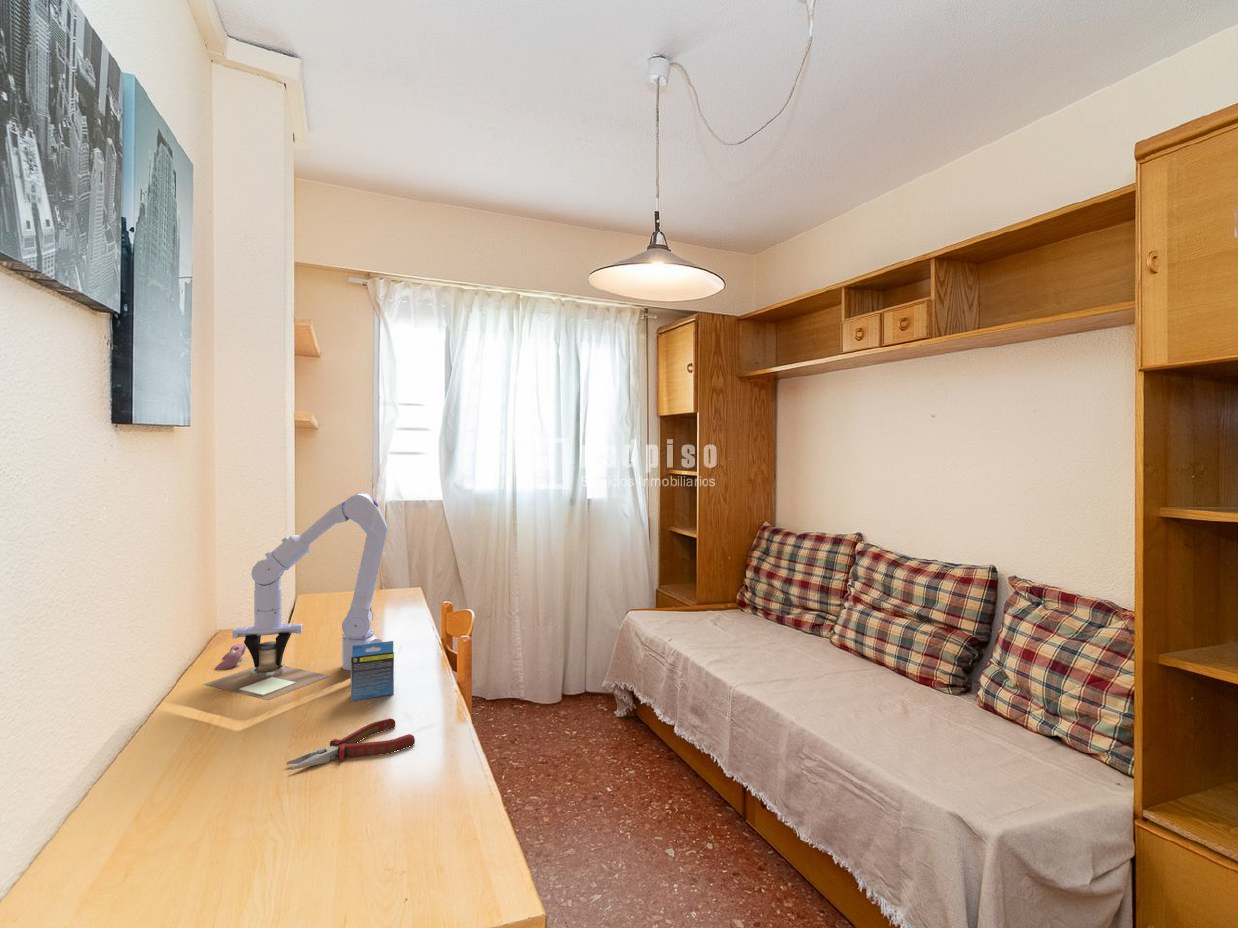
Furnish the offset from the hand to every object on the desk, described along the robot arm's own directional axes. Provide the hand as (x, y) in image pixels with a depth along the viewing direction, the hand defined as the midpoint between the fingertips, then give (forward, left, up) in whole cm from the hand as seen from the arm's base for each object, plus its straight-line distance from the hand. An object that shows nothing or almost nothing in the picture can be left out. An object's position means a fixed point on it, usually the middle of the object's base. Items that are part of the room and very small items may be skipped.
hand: (268, 665), depth 146 cm
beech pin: (0, 0, -2) cm, 2 cm away
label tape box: (-30, -3, -4) cm, 30 cm away
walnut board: (-4, +3, -3) cm, 6 cm away
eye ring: (0, 0, -2) cm, 2 cm away
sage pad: (-8, +6, -2) cm, 10 cm away
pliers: (-46, +17, -4) cm, 49 cm away
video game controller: (+16, -1, -4) cm, 16 cm away
